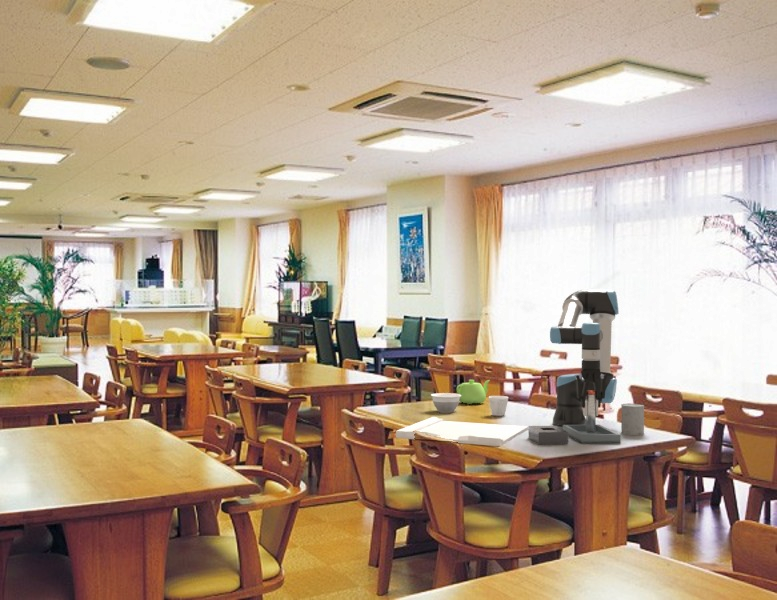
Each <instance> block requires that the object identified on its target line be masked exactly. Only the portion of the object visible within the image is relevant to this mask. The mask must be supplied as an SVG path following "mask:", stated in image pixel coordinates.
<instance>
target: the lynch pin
mask: <svg viewBox="0 0 777 600" xmlns="http://www.w3.org/2000/svg"><path fill="white" fill-rule="evenodd" d="M586 400H587V416H585V418H586V433H596V425H597V422H596V418H597V416H596V391H593V390H587V394H586Z"/></svg>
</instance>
